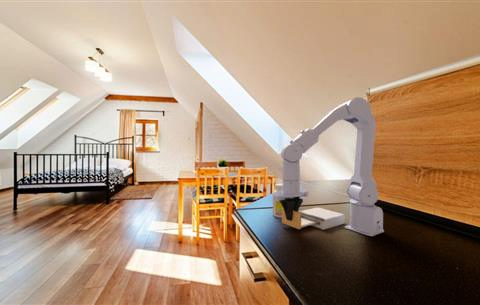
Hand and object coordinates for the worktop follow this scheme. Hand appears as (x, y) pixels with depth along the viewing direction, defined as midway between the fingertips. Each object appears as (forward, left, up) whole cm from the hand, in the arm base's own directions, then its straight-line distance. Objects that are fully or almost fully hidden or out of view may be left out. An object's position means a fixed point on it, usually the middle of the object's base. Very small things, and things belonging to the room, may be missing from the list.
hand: (291, 219), depth 80 cm
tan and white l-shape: (0, -8, -2) cm, 8 cm away
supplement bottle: (+14, -8, -4) cm, 17 cm away
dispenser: (0, -15, -3) cm, 15 cm away
